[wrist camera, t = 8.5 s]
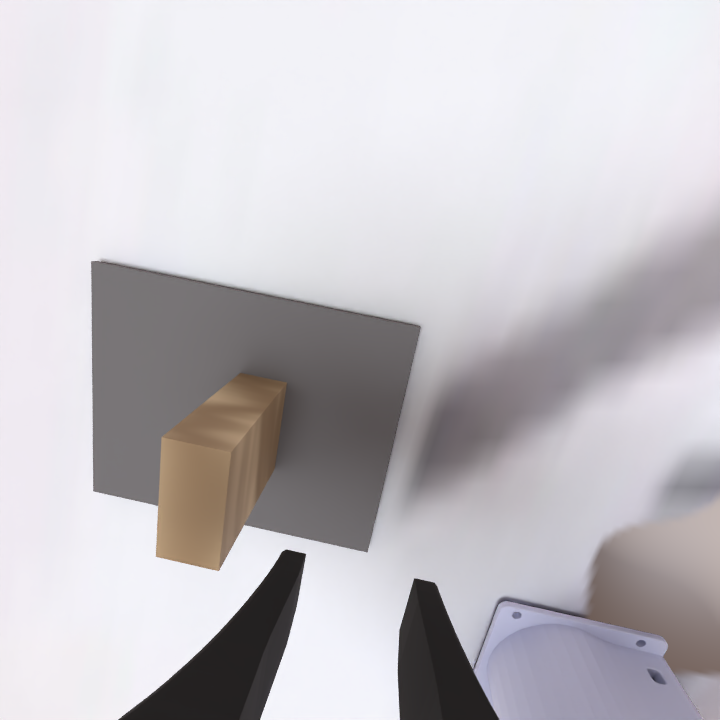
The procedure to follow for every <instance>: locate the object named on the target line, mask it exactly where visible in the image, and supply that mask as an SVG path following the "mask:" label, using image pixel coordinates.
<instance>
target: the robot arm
mask: <svg viewBox="0 0 720 720" xmlns="http://www.w3.org/2000/svg"><path fill="white" fill-rule="evenodd" d="M305 557H306V554H304V553H299V552H295V551H290V550H285V551H283V552H282V553H281V555H280V557H279V558H278V560H277V561H276V563H275V565H274V566H273V568H272V569H271V570H270V572H269V573H268V575H267V576H266V577H265V579H264V580H263V581H262V583H261V584H260V585H259V587H258V588H257V589H256V590H255V592H254V593H253V594H252V595H251V596H250V598H249V599H248V600H247V601H246V603H245V604H244V605H243V606H242V607H241V608H240V610H239V611H238V612H237V613H236V614H235V615H234V616H233V617H232V618H231V620H230V621H229V622H228V623H227V624H226V625H225V626H224V627H223V628H222V629H221V631H220V632H219V633H218V634H217V635H216V636H215V637H214V638H213V639H212V640H211V641H210V642H209V643H208V644H207V645H206V646H205V647H204V648H203V649H202V650H201V651H200V652H199V653H197V654H196V655H195V656H194V657H193V658H192V659H191V660H190V661H189V662H188V663H187V664H186V665H185V666H183V667H182V668H181V669H180V670H179V671H178V672H177V673H176V674H174V675H173V676H172V677H171V678H170V679H169V680H168V681H166V682H165V683H164V684H163V685H162V686H161V687H159V688H158V689H157V690H156V691H155V692H153V693H152V694H151V695H150V696H148V697H147V698H146V699H144V700H143V701H142V702H141V703H139V704H138V705H137V706H135V707H134V708H133V709H131V710H130V711H129V712H128V713H126V714H125V715H124V716H122V717H121V718H120V719H119V720H260V718H261V715H262V712H263V710H264V707H265V704H266V701H267V698H268V696H269V693H270V690H271V687H272V684H273V681H274V679H275V676H276V673H277V670H278V667H279V665H280V662H281V659H282V656H283V653H284V650H285V648H286V645H287V641H288V637H289V634H290V630H291V626H292V622H293V618H294V614H295V610H296V607H297V601H298V596H299V590H300V585H301V579H302V574H303V568H304V563H305ZM514 612H517V613H514ZM667 648H668V644H667V642H666V641H665V639H664V638H663V637H662V636H660V635H656V634H652V633H647V632H642V631H638V630H634V629H629V628H625V627H620V626H616V625H611V624H607V623H603V622H598V621H594V620H589V619H585V618H580V617H576V616H571V615H567V614H563V613H558V612H554V611H549V610H545V609H540V608H536V607H531V606H527V605H522V604H518V603H514V602H509V601H504V602H501V603H500V604H499V605H498V607H497V610H496V612H495V615H494V618H493V620H492V623H491V626H490V628H489V631H488V634H487V636H486V639H485V642H484V645H483V647H482V650H481V653H480V655H479V658H478V661H477V663H476V666H475V669H474V671H473V669H472V667H471V665H470V663H469V661H468V659H467V657H466V654H465V652H464V650H463V648H462V646H461V644H460V642H459V639H458V637H457V635H456V633H455V630H454V628H453V626H452V623H451V621H450V618H449V616H448V614H447V611H446V609H445V606H444V604H443V601H442V598H441V596H440V593H439V590H438V587H437V586H436V584H435V583H433V582H429V581H424V580H420V579H415V578H414V581H413V585H412V588H411V592H410V595H409V599H408V602H407V606H406V609H405V613H404V616H403V620H402V623H401V627H400V633H399V652H398V688H399V709H400V720H703V718H702V717H701V715H700V714H699V712H698V711H697V709H696V707H695V706H694V704H693V703H692V701H691V700H690V698H689V697H688V695H687V693H686V692H685V690H684V689H683V687H682V686H681V684H680V683H679V681H678V679H677V678H676V676H675V675H674V673H673V672H672V670H671V669H670V667H669V665H668V664H667V662H666V661H665V659H664V658H663V656H664V654H665V652H666V650H667Z"/></svg>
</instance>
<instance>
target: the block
mask: <svg viewBox="0 0 720 720" xmlns="http://www.w3.org/2000/svg"><path fill="white" fill-rule="evenodd" d="M286 386H287V383H286V382H282V381H277V380H272V379H267V378H263V377H258V376H253V375H248V374H244V373H240V374H238V375H237V376H236V377H235V378H233V379H232V380H231V381H230V382H229V383H227V384H226V385H225V386H224V387H222V388H221V389H220V390H219V391H217V392H216V393H215V394H214V395H213V396H211V397H210V398H209V399H208V400H206V401H205V402H204V403H203V404H202V405H200V406H199V407H198V408H197V409H195V410H194V411H193V412H192V413H191V414H189V415H188V416H187V417H186V418H184V419H183V420H182V421H181V422H179V423H178V424H177V425H176V426H175V427H173V428H172V429H171V430H170V431H168V432H167V433H166V434H165V435H164V436H162V439H161V460H160V481H159V503H158V524H157V545H156V557H160V558H164V559H168V560H173V561H177V562H181V563H186V564H190V565H195V566H199V567H203V568H208V569H212V570H217V571H219V570H220V568H221V566H222V564H223V562H224V560H225V559H226V557H227V555H228V553H229V551H230V550H231V548H232V546H233V544H234V542H235V540H236V539H237V537H238V535H239V533H240V531H241V529H242V528H243V526H244V524H245V522H246V520H247V519H248V517H249V515H250V513H251V511H252V509H253V508H254V506H255V504H256V502H257V500H258V498H259V497H260V495H261V493H262V491H263V489H264V488H265V486H266V484H267V482H268V480H269V478H270V477H271V475H272V473H273V471H274V469H275V463H276V456H277V449H278V442H279V435H280V428H281V421H282V414H283V407H284V400H285V393H286Z"/></svg>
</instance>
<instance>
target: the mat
mask: <svg viewBox="0 0 720 720" xmlns="http://www.w3.org/2000/svg"><path fill="white" fill-rule="evenodd" d="M91 274H92V385H93V491H95V492H99V493H104V494H108V495H113V496H117V497H122V498H126V499H131V500H135V501H140V502H144V503H149V504H153V505H158V503H159V481H160V460H161V439H162V436H164V435H165V434H166V433H167V432H168V431H170V430H171V429H172V428H173V427H175V426H176V425H177V424H178V423H179V422H181V421H182V420H183V419H184V418H186V417H187V416H188V415H189V414H191V413H192V412H193V411H194V410H195V409H197V408H198V407H199V406H200V405H202V404H203V403H204V402H205V401H206V400H208V399H209V398H210V397H211V396H213V395H214V394H215V393H216V392H217V391H219V390H220V389H221V388H222V387H224V386H225V385H226V384H227V383H229V382H230V381H231V380H232V379H233V378H235V377H236V376H237V375H238V374H240V373H244V374H248V375H253V376H258V377H263V378H267V379H272V380H277V381H282V382H286V383H287V386H286V393H285V400H284V407H283V414H282V421H281V428H280V435H279V442H278V449H277V456H276V463H275V469H274V471H273V473H272V475H271V477H270V478H269V480H268V482H267V484H266V486H265V488H264V489H263V491H262V493H261V495H260V497H259V498H258V500H257V502H256V504H255V506H254V508H253V509H252V511H251V513H250V515H249V517H248V519H247V520H246V522H245V524H244V525H247V526H252V527H256V528H261V529H265V530H270V531H274V532H279V533H283V534H288V535H292V536H297V537H301V538H306V539H310V540H314V541H319V542H323V543H328V544H332V545H337V546H341V547H346V548H350V549H355V550H359V551H364V552H368V548H369V544H370V539H371V535H372V531H373V527H374V523H375V518H376V514H377V510H378V506H379V501H380V497H381V493H382V489H383V484H384V480H385V476H386V472H387V467H388V463H389V459H390V455H391V451H392V446H393V442H394V438H395V434H396V429H397V425H398V421H399V417H400V412H401V408H402V404H403V400H404V396H405V391H406V387H407V383H408V379H409V374H410V370H411V366H412V362H413V357H414V353H415V349H416V345H417V341H418V336H419V332H420V326H415V325H410V324H405V323H400V322H395V321H390V320H385V319H380V318H376V317H371V316H366V315H361V314H356V313H351V312H346V311H341V310H336V309H331V308H326V307H321V306H316V305H311V304H306V303H301V302H297V301H292V300H287V299H282V298H277V297H272V296H267V295H262V294H257V293H252V292H247V291H242V290H237V289H232V288H227V287H222V286H218V285H213V284H208V283H203V282H198V281H193V280H188V279H183V278H178V277H173V276H168V275H163V274H158V273H153V272H148V271H143V270H139V269H134V268H129V267H124V266H119V265H114V264H109V263H104V262H99V261H91Z"/></svg>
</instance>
